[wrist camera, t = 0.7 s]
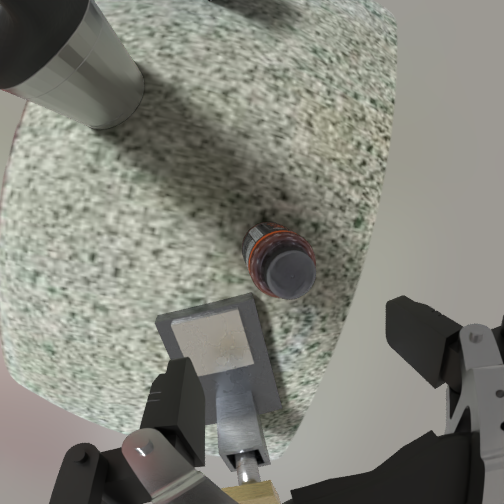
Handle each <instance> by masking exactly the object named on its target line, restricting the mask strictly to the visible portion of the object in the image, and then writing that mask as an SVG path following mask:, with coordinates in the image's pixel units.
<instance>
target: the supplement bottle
mask: <svg viewBox="0 0 504 504" xmlns="http://www.w3.org/2000/svg"><path fill="white" fill-rule="evenodd" d="M242 253H243V257H244V260H245V263H246V265H247V268H248V270H249V273H250V276H251V278H252V280H253V282H254V284H255V285H256V286H257V287H258V288H259V289H260V290H261V291H262V292H263V293H265V294H267V295H269V296H272V297H276V298H282V299H289V300H290V299H296V298H299V297H301V296H303V295H304V294H306V293H307V292H308V291H309V290H310V289H311V287H312V286H313V284H314V281H315V278H316V259H315V254H314V252H313V249H312V247H311V246H310V244H309V243H308V242H307V241H306V240H305V239H304V238H303V237H301V236H300V235H298V234H296V233H295V232H293V231H291V230H289V229H287V228H286V227H284V226H282V225H280V224H277V223H273V222H264V223H260V224H257V225H255V226H254V227H252V228H251V229H250V230H249V231H248V232H247V234H246V235H245V237H244V240H243V244H242Z"/></svg>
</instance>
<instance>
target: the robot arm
mask: <svg viewBox="0 0 504 504" xmlns="http://www.w3.org/2000/svg"><path fill="white" fill-rule="evenodd" d="M0 89H1V90H3V91H5V92H8V93H11V94H13V95H16V96H18V97H21V98H24V99H26V100H28V101H31V102H33V103H36V104H38V105H40V106H43V107H45V108H47V109H50V110H52V111H54V112H57V113H59V114H61V115H64V116H66V117H68V118H70V119H73V120H75V121H77V122H79V123H82V124H84V125H86V126H88V127H91V128H93V129H108V128H111V127H114V126H116V125H118V124H120V123H122V122H123V121H124V120H126V119H127V118H128V117H129V116H130V115H131V114H132V113H133V112H134V111H135V109H136V108H137V106H138V105H139V103H140V101H141V99H142V96H143V92H144V79H143V76H142V74H141V72H140V70H139V69H138V67H137V65H136V64H135V62H134V61H133V59H132V57H131V56H130V54H129V53H128V51H127V50H126V48H125V47H124V45H123V44H122V42H121V41H120V39H119V37H118V36H117V34H116V33H115V31H114V30H113V28H112V27H111V25H110V24H109V22H108V21H107V19H106V18H105V16H104V15H103V13H102V11H101V10H100V8H99V7H98V6H97V4H96V3H95V1H94V0H0ZM386 339H387V342H388V344H389V345H390V346H391V348H392V349H394V350H395V351H396V352H397V353H398V354H399V355H400V356H401V357H402V358H403V359H404V360H405V361H406V362H408V363H409V364H410V365H411V366H412V367H413V368H414V369H415V370H416V371H417V372H418V373H419V374H420V375H421V376H422V377H423V378H424V379H426V381H428V382H429V383H430V384H431V385H432V386H433V387H434V388H435V389H436V388H438V387H439V386H441V385H442V384H444V383H445V382H446V383H447V384H448V386H447V389H446V411H447V412H446V429H445V434H444V435H441V436H438V437H437V436H436V435H435V434H434V432H433V431H432V430H431V431H429V432H427V433H426V434H424V435H423V436H421V437H419V438H418V439H416V440H414V441H412V442H411V443H409V444H407V445H405V446H403V447H402V448H401V449H400V450H398V451H397V452H396V453H395V454H394V455H392V456H391V457H390V458H389V459H387V460H386V461H385V462H384V463H382V464H381V465H380V466H378V467H377V468H376V469H374V470H372V471H370V472H366V473H361V474H356V475H351V476H345V477H339V478H333V479H328V480H325V481H322V482H319V483H315V484H312V485H309V486H305V487H302V488H298V489H294V490H291V495H292V499H290V500H288V501H286V502H284V503H282V504H504V316H503V320H502V324H501V326H499V327H496V328H494V329H489V328H488V327H487V326H485V325H481V324H470V325H467V326H465V327H463V326H461V325H459V324H458V323H456V322H454V321H453V320H451V319H449V318H448V317H446V316H445V315H442V314H441V313H440V312H438V311H435V310H434V309H433V308H431V307H429V306H428V305H425V304H422V303H418V302H414V301H413V300H411V299H409V298H408V297H406V296H400V297H397V298H395V299H392V300H390V301H388V302H387V303H386ZM147 401H148V402H147V403H146V407H145V410H144V414H143V418H142V421H141V425H140V429H139V430H136V431H134V432H132V433H131V434H129V435H128V436H127V437H126V439H125V440H124V441H123V444H122V447H121V448H117V449H113V450H109V451H105V452H100V451H98V449H97V448H96V447H95V446H94V445H92V444H90V443H80V444H77V445H75V446H73V447H71V448H70V449H69V450H68V451H67V453H66V455H65V457H64V459H63V462H62V465H61V468H60V471H59V474H58V476H57V479H56V483H55V486H54V489H53V492H52V495H51V499H50V502H49V504H143V503H147V502H152V503H153V504H239V503H238V502H236V501H235V500H234V499H233V498H231V497H230V496H229V495H227V494H226V493H225V492H224V491H223V490H221V489H220V488H219V487H218V486H216V485H215V484H214V483H213V482H212V481H211V480H210V479H209V478H207V477H206V476H205V475H204V474H203V473H202V472H200V471H197V470H196V469H195V467H202V466H205V395H204V391H203V387H202V385H201V383H200V380H199V378H198V376H197V373H196V371H195V368H194V366H193V364H192V361H191V359H190V358H189V357H184V358H178V359H172V360H169V363H168V367H167V371H166V373H165V374H159V376H158V377H157V378H156V379H155V380H154V382H153V383H152V386H151V389H150V394H149V396H148V400H147Z"/></svg>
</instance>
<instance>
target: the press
mask: <svg viewBox="0 0 504 504" xmlns="http://www.w3.org/2000/svg"><path fill="white" fill-rule="evenodd" d="M155 325H156V327H157V329H158V332H159V334H160V336H161V339H162V341H163V343H164V346H165V348H166V350H167V352H168V355H169V357H170V359H171V360H172V359H178V358H184V357H189V358H190V359H191V361H192V364H193V366H194V368H195V371H196V373H197V376H198V378H199V380H200V383H201V385H202V387H203V391H204V395H205V425H210V424H216V423H217V431H218V448H219V455H220V456H221V458H222V459H223V461H224V462H225V463H226V465H227V466H228V468H229V469H230V471H231V472H233V471H237V467H236V459H235V454H236V453H242V452H247V451H252V450H255V455H256V460H257V465H258V467H261V466H264V465H269V464H271V463H270V459H269V455H268V450H267V446H266V442H265V438H264V433H263V429H262V424H261V420H260V415H259V414H263V413H267V412H271V411H275V410H278V409H282V405H281V402H280V398H279V394H278V390H277V387H276V383H275V379H274V375H273V371H272V368H271V364H270V360H269V356H268V352H267V348H266V345H265V341H264V337H263V333H262V329H261V325H260V321H259V318H258V314H257V310H256V306H255V302H254V298H253V295H252V292H251V293H247V294H244V295H240V296H236V297H232V298H228V299H224V300H220V301H216V302H212V303H208V304H204V305H200V306H196V307H192V308H188V309H183V310H179V311H175V312H171V313H166V314H162V315H158V316H157V318H156V321H155Z"/></svg>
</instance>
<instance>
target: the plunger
mask: <svg viewBox="0 0 504 504" xmlns="http://www.w3.org/2000/svg"><path fill="white" fill-rule="evenodd" d="M235 459H236V467H237V475H238V482H239V486H235V487H228V488H222V490H223V491H224V492H225V493H226V494H227V495H229V496H230V497H231V498H233V499H234V500H235V501H236V502H238V503H239V504H281V503H280V499H279V496H278V493H277V492H276V490H275V488H274V486H273V484H272V482H271V480H268V481H263V482H261V480H260V475H259V470H258V465H257V460H256V455H255V450H252V451H247V452H242V453H236V454H235Z"/></svg>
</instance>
